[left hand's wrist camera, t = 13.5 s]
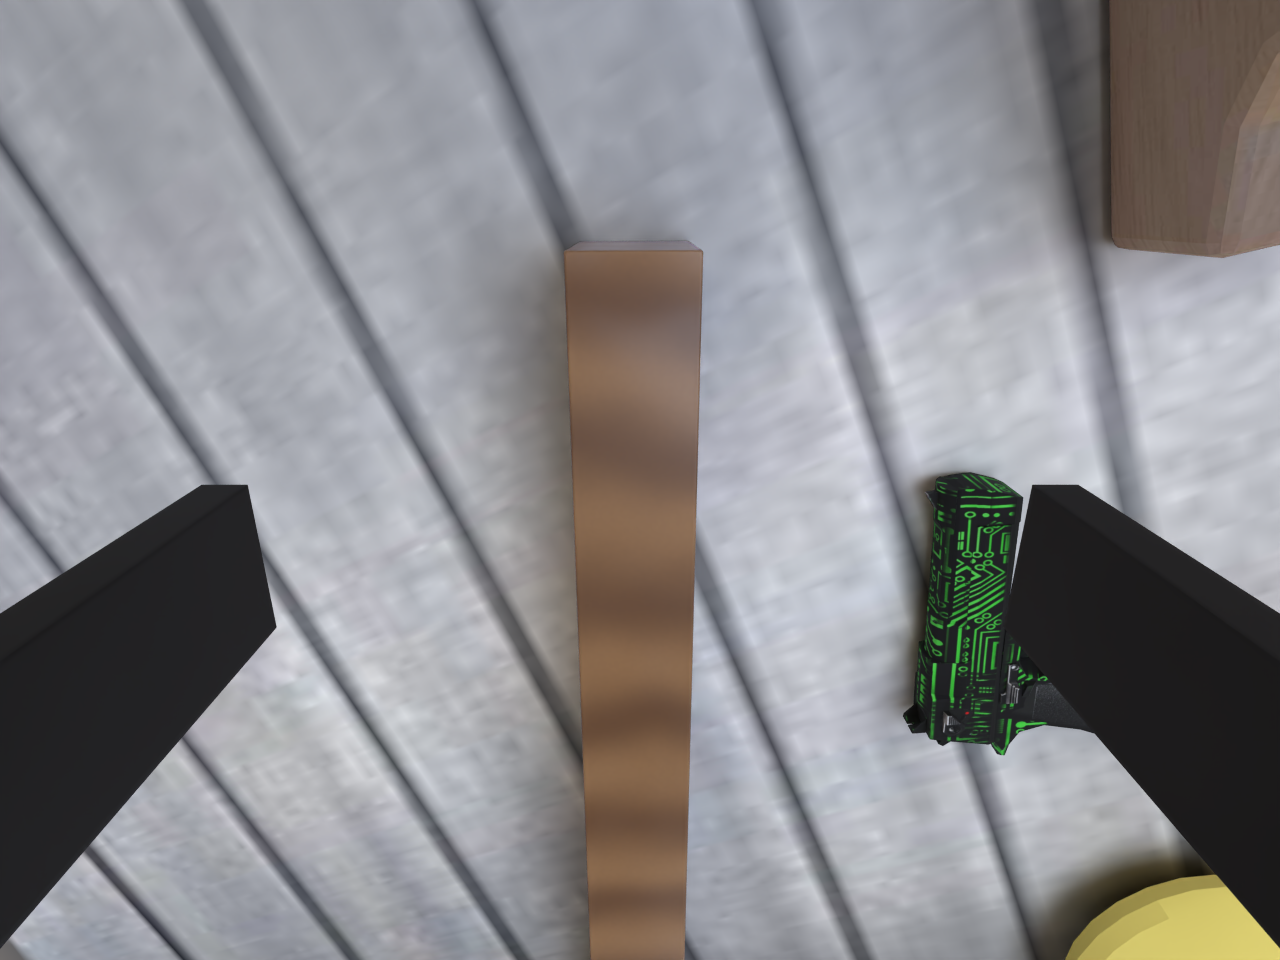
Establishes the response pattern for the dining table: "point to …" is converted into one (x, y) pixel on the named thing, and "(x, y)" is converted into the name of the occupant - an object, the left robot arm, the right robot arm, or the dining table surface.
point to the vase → (1176, 926)
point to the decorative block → (1195, 125)
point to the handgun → (977, 626)
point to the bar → (635, 577)
